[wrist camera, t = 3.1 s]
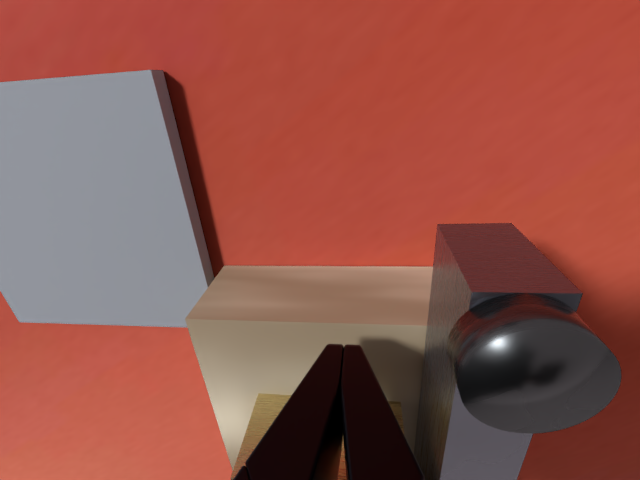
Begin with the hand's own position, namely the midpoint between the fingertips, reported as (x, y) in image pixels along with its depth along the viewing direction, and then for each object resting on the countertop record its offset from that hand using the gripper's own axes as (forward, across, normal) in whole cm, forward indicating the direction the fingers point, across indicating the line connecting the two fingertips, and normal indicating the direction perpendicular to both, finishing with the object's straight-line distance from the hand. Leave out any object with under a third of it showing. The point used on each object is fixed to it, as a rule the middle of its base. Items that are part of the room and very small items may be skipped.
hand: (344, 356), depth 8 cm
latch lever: (+1, -3, +5) cm, 5 cm away
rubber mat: (+4, +10, -2) cm, 11 cm away
